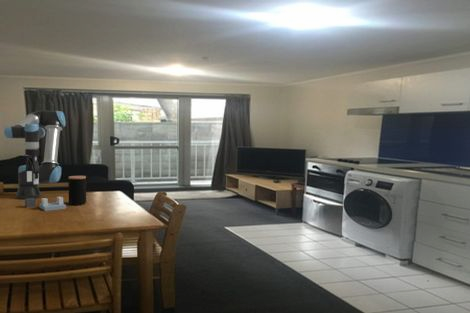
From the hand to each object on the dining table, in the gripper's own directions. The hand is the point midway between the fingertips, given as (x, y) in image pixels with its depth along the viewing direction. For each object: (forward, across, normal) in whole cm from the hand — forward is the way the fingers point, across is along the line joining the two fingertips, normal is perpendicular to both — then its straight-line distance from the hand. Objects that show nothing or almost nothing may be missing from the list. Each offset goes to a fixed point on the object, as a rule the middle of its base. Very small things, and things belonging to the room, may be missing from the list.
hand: (32, 182), depth 231 cm
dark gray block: (+15, -1, -1) cm, 15 cm away
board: (+15, +11, +8) cm, 20 cm away
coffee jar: (+15, +9, +24) cm, 30 cm away
